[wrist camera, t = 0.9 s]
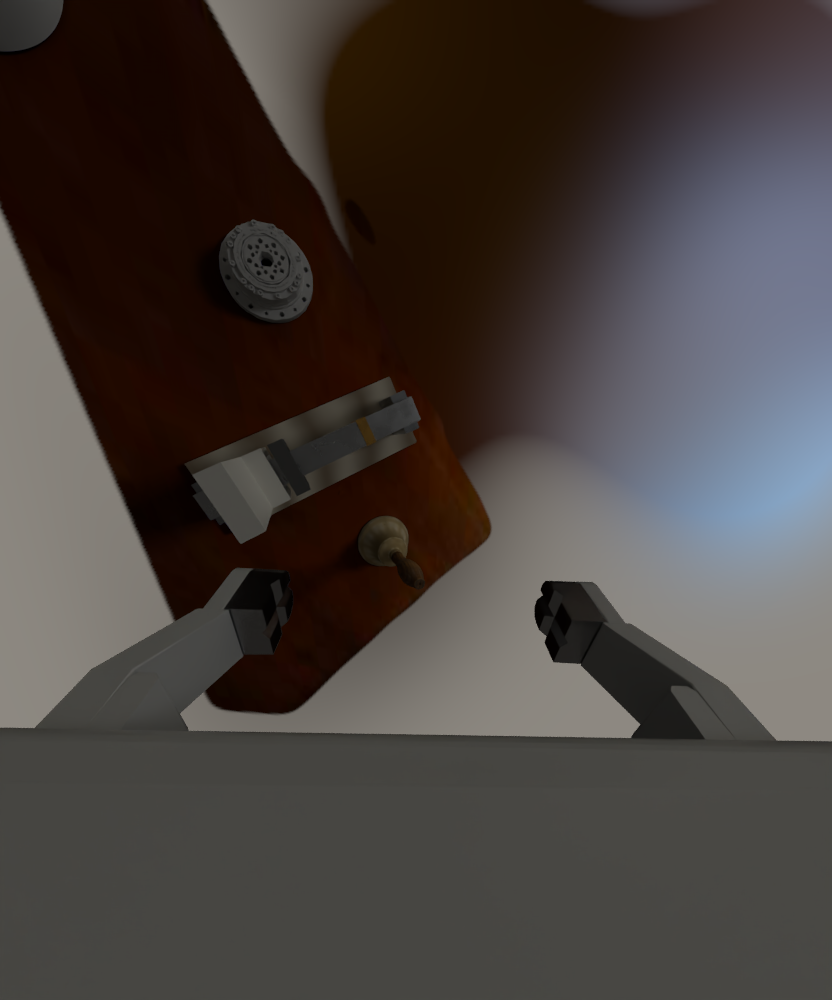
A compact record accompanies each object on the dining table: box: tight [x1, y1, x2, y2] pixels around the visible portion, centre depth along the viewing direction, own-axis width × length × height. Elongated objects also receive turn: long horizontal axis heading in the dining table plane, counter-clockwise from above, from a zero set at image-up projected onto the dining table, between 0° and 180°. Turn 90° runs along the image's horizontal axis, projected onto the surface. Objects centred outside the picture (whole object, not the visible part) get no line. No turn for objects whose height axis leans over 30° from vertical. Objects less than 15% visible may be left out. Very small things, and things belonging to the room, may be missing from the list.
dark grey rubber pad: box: [267, 439, 311, 496], centre depth 35 cm, size 2×6×6 cm, turn 25°
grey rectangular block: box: [192, 447, 291, 544], centre depth 30 cm, size 4×6×15 cm, turn 25°
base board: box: [185, 377, 416, 515], centre depth 41 cm, size 28×10×1 cm, turn 115°
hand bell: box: [358, 516, 425, 589], centre depth 41 cm, size 8×8×16 cm
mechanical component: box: [219, 220, 313, 323], centre depth 35 cm, size 10×4×10 cm
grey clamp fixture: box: [191, 390, 421, 525], centre depth 37 cm, size 26×5×7 cm, turn 115°
